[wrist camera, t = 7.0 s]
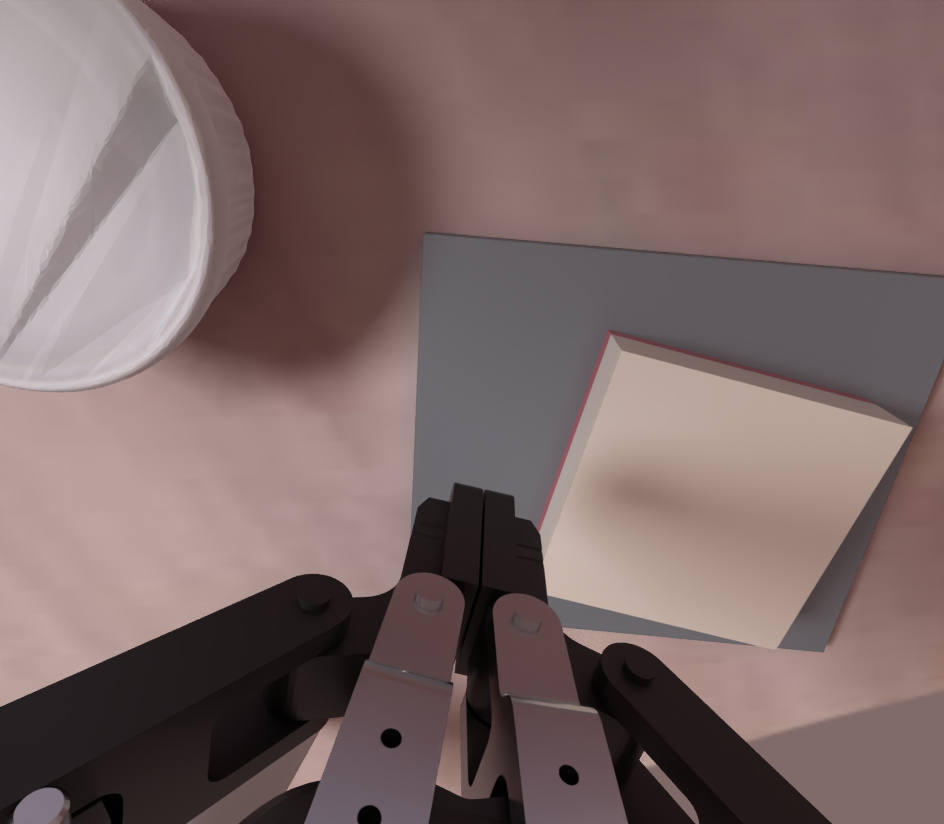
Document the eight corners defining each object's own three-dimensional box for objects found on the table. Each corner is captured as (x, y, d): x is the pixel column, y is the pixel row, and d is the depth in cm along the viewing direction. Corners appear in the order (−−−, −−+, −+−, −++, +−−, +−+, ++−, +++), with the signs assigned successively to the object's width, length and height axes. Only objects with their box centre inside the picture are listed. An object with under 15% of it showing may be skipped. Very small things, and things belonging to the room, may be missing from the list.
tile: (531, 591, 20) (775, 650, 21) (621, 350, 17) (912, 427, 17) (528, 549, 22) (749, 603, 23) (607, 329, 19) (865, 398, 19)
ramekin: (284, 365, 21) (217, 425, 16) (-27, 315, 21) (-192, 361, 16) (294, -8, 16) (205, -83, 11) (-102, -75, 16) (-361, -179, 11)
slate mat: (425, 231, 19) (423, 233, 18) (962, 277, 18) (976, 280, 18) (409, 602, 24) (407, 612, 24) (815, 641, 24) (823, 652, 24)
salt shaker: (330, 610, 25) (167, 1023, 13) (345, 707, 27) (217, 1137, 15) (197, 608, 25) (-83, 1008, 13) (222, 704, 27) (2, 1122, 15)
